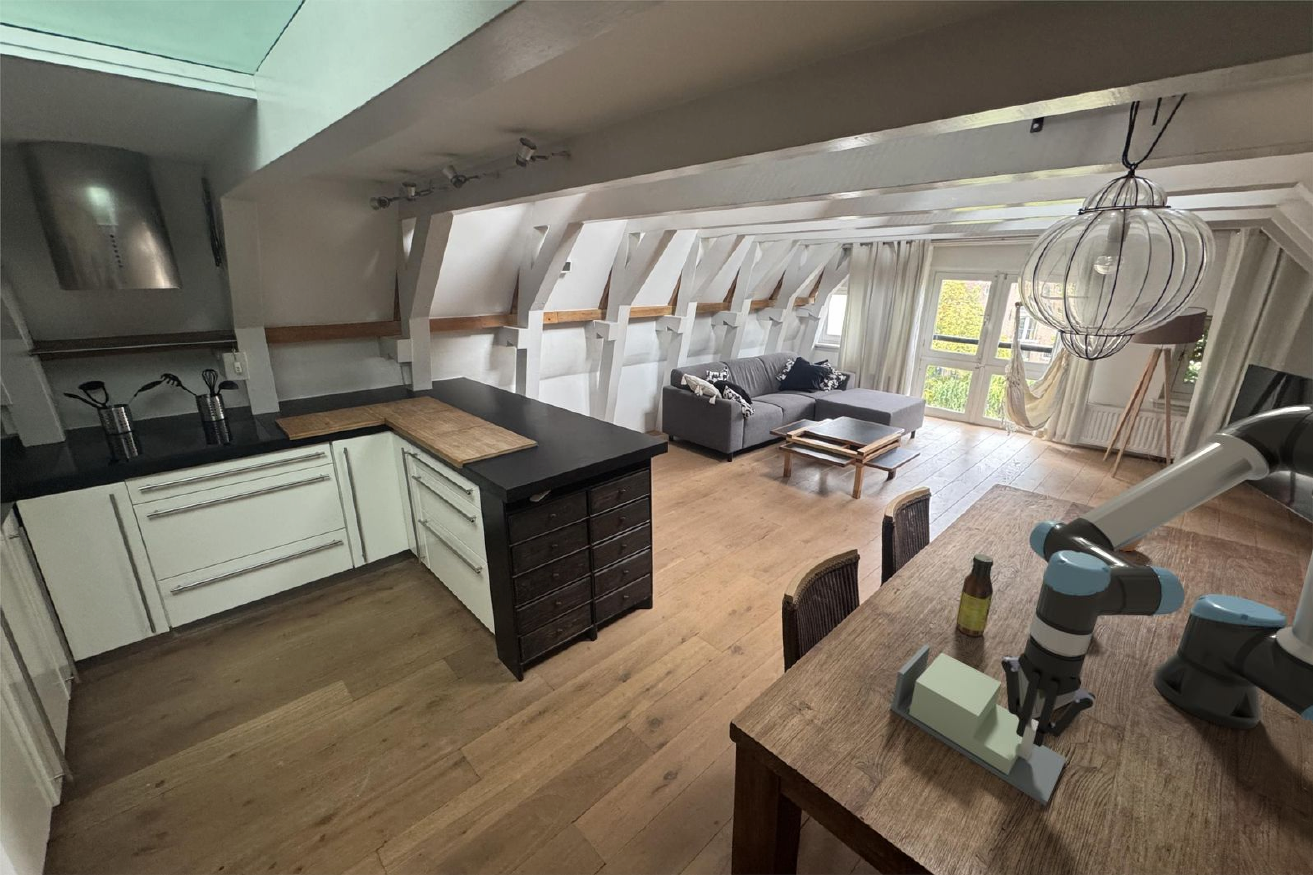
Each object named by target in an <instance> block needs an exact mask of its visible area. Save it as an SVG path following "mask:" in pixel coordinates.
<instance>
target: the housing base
mask: <svg viewBox="0 0 1313 875" xmlns="http://www.w3.org/2000/svg"><path fill="white" fill-rule="evenodd" d="M930 649H931V645H928V644H927V643H925V644H923V645H922V647H921V648H919V650H917V651H916V652H915V654H913V656H912V657H911V658H910V659H909V660H908V661H907V662H906V663H905V664H904V665H903V666H902V667H901V668H900V669H899V670H898V671H897V677H896V683H895V688H894V694H893V699H892V703H891V705H890V710H891V711H893V712H894V713H896V714H898V715H899V716H900V717H903V718H904V719H905V720H907V721H909V722H911V723H912V724H914V725H915V726H917V727H919V728H920V729H921V730H923V731H924V732H926V733H927V734H928V733H929V735H931V736H933V737H935V738H936V739H937V740H939V741H941V742H942V743H944V744H945V745H947V746H948V747H949V748H952V749H953V750H955V751H957V753H960V754H962V756H965V757H966V758H968V759H970V760H971V761H972V762H974V763H976V764H977V765H979V766H981V767H982V768H984V769H986V770H987V771H989V772H990V773H992V774H994V775H996V776H997V778H1000V779H1001V780H1003V781H1004V782H1006V783H1008V784H1010V785H1011V786H1012V787H1014V788H1016V789H1018V790H1019V791H1020V792H1022V793H1024V794H1025V795H1027V796H1028V797H1030V798H1032V799H1033V800H1035V801H1037V802H1038V803H1039V804H1042V805H1043V806H1044V807H1047V806H1048V805H1047V804H1048V802H1049V800H1050V797H1051V795H1052V793H1053V791H1054V788H1055V786H1056V783H1057V782H1058V779H1059V776H1060V774H1061V772H1062V770H1063V768H1064V765H1065V763H1066V760H1067V758H1066V757H1065V756H1063V755H1061V754H1060V753H1058V752H1056V751H1054V750H1052V749H1051V748H1050V747H1047V746H1046V745H1043V744H1042V746H1040V747H1039V746H1037V745H1035V744H1034V747H1033V750H1032V753H1031V755H1030V757H1029V759H1028V760H1026V759H1024V758H1022V757H1021V756H1018V758H1017V759H1016V761H1015V763H1014V765H1013V767H1012V769H1011V770H1010V772H1009V774H1008V775H1007V774H1006V773H1004V772H1002V771H1001V770H999V769H997V768H996V767H994V766H993V765H991V764H989V763H988V762H986V761H984V760H983V759H981V758H980V757H978V756H976V755H975V754H973V753H972V752H970V751H968V750H967V749H965V748H963V747H962V746H960V745H959V744H957V743H955V742H954V741H952V740H950V739H949V738H947V737H946V736H944V735H942V734H941V733H939V732H937V731H936V730H934V729H933V728H931V727H929V726H928V725H926V724H925V723H923V722H921V721H920V720H918V719H916V718H915V717H913V716H912V715H910V714H909V713H910V708H911V703H912V698H913V693H914V688H915V683H916V680H917V679H918V678H919V677H920V676H921V675H922V674H923V673H924V671H925V670H926V669H927V665H928V659H929V654H930Z"/></svg>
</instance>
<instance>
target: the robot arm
mask: <svg viewBox="0 0 1313 875" xmlns="http://www.w3.org/2000/svg"><path fill="white" fill-rule="evenodd" d="M1279 472H1292V473H1296V474H1298V475H1301V476H1304V477H1308V478H1311V479H1313V403H1312V404H1311V403H1309V404H1296V405H1291V406H1290V405H1288V406H1284V407H1279V408H1275V409H1271V410H1267V411H1262V412H1260V413H1256V414H1254V415H1251V416H1247V417H1244V418H1241V419H1240V420H1237V421H1234V422H1232V423H1230V424H1228V425H1226V426H1224V427H1222V428H1220V429H1218V430H1217V431H1215V432H1213V433H1211V434H1210V435H1208V436H1206V438H1205V439H1204V442H1203V446H1201V447H1200V448H1198V449H1196V450H1194V451H1193V452H1191V453H1190V454H1187V455H1186V456H1184V457H1182V458H1180V459H1179V460H1177V461H1175V462H1173V463H1172V464H1170V465H1168V466H1167V467H1165V468H1163V469H1161V470H1159V471H1158V472H1156V473H1155V474H1152V475H1151V476H1149V477H1147V478H1146V479H1145V478H1144V480H1143V479H1142V480H1143V481H1142V480H1141V481H1140V482H1138V483H1137V484H1134V485H1133V486H1131V487H1128V488H1129V489H1126V490H1125V491H1123V492H1121V493H1119V494H1117V495H1116V496H1114V497H1112V498H1110V499H1108V500H1107V501H1105V502H1103V503H1101V504H1100V505H1098V506H1096V507H1094V508H1093V509H1091V510H1089V511H1088V512H1086V513H1084V514H1082V515H1081V516H1078V517H1077V518H1076V519H1073V520H1072V521H1070V522H1068V523H1064V522H1061V521H1059V520H1055V519H1051V520H1044V521H1042V522H1040V523H1038V524H1037V525H1036V526H1035V527H1034V528H1033V529H1032V531H1031V533H1030V535H1029V539H1028V541H1029V546H1030V549H1031V550H1032V551H1033V552H1034V553H1035V554H1036V555H1037V556H1039V557H1040V558H1041V559H1043V560H1044V561H1045V562H1046V564H1047V566H1046V568H1045V570H1044V572H1043V578H1042V582H1041V586H1040V590H1039V596H1038V599H1037V603H1036V607H1035V610H1034V614H1033V618H1032V621H1031V625H1030V629H1029V633H1028V636H1027V639H1026V644H1025V648H1024V651H1023V653H1021V654H1020V655H1019V657H1014V656H1012V655H1010V654H1006V655H1005V656H1004V657H1003V659H1002V660H1001V663H1000V664H1001V666H1002V668H1003V671H1004V673H1005V682H1006V697H1007V710H1008V711H1009V712H1010V713H1011V714H1015V715H1016V716H1017V717H1018V718H1019V723H1018V726H1017V730H1016V733H1017V735H1019V736H1020V737H1022V742H1021V745H1020V749H1019V753H1018V755H1019V756H1021V757H1022V758H1024V759H1026V760H1028V759H1029V757H1030V755H1031V753H1032V750H1033V747H1034V744H1035V745H1037V746H1039V747H1040V746H1042V745H1043V744H1044V742H1045V738H1046V737H1047V736H1046V735H1047V734H1050V735H1051V736H1053V737H1054V738H1059V737H1060V736H1061V735H1062V734H1063V733H1064V731H1065V730H1066V729H1067V728H1068V727H1069V725H1070V724H1071V723H1072V722H1073V721H1074V720H1075V719H1076V717H1078V715H1079V714H1080V713H1081V712H1082V711H1084V710H1088V709H1091V708H1092V707H1093V706H1094V703H1095V700H1096V695H1095V694H1094V693H1092V692H1087V690H1085V688H1083V686H1082V679H1081V678H1080V677H1081V676H1080V675H1081V671H1082V668H1083V665H1084V662H1085V658H1086V653H1087V651H1088V649H1089V646H1090V642H1091V639H1092V636H1093V633H1094V630H1095V626H1096V623H1097V621H1098V618H1099V616H1100V617H1101V616H1110V617H1111V616H1143V617H1144V616H1145V617H1154V616H1157V615H1169V614H1173V613H1175V612H1178V611H1179V610H1180V609H1181V608H1182V606H1183V604H1184V601H1185V598H1186V597H1185V596H1186V594H1185V589H1184V586H1183V583H1181V582H1182V581H1181V580H1179V578H1178V576H1176V575H1175V574H1174V573H1173V572H1172V571H1170V570H1168V569H1166V568H1164V567H1161V566H1156V565H1155V566H1154V565H1148V564H1143V565H1142V564H1141V565H1139V564H1135V563H1133V562H1132V561H1130V560H1128V559H1126V558H1125V557H1123V556H1121V555H1119V554H1117V553H1116V551H1120V550H1119V549H1120V548H1122V547H1124V546H1126V545H1128V544H1129V543H1131V542H1133V541H1135V540H1137V539H1139V538H1140V537H1142V536H1144V535H1146V534H1147V535H1148V534H1150V533H1151V532H1153V531H1155V530H1157V529H1158V528H1160V527H1162V526H1164V525H1166V524H1168V523H1170V522H1171V521H1173V520H1175V519H1177V518H1179V517H1180V516H1182V515H1184V514H1186V513H1188V512H1189V511H1192V510H1193V509H1195V508H1197V507H1199V506H1200V505H1202V504H1204V503H1206V502H1207V501H1209V500H1211V499H1213V498H1216V497H1217V496H1219V495H1220V494H1223V493H1224V492H1226V491H1228V490H1230V489H1231V488H1233V487H1235V486H1237V485H1239V484H1241V483H1242V482H1244V481H1246V480H1250V481H1251V480H1252V481H1259V480H1262V479H1264V478H1266V477H1269V475H1272V474H1275V473H1279ZM1311 498H1312V499H1313V489H1312V492H1311ZM1303 582H1304V583H1303V585H1302V590H1301V594H1300V597H1299V600H1298V605H1297V608H1296V611H1295V612H1296V613H1295V616H1294V620H1293V623H1292V626H1288V619H1287V617H1286V615H1285V614H1284V613H1283V612H1281V611H1279V610H1277V609H1275V608H1273V607H1271V606H1269V605H1267V604H1263V603H1261V602H1258V601H1254V600H1250V599H1247V598H1243V597H1240V596H1233V595H1225V594H1217V593H1215V594H1214V593H1213V594H1212V593H1210V594H1204V595H1202V596H1199V597H1198V598H1197V599H1196V600H1195V603H1194V605H1193V606H1192V609H1190V611H1189V616H1188V618H1187V620H1186V624H1185V626H1184V629H1183V633H1182V635H1181V638H1180V641H1179V645H1178V647H1177V649H1176V650H1175V651H1176V652H1175V653H1173V654H1172V655H1171V656H1170V657H1169V658H1167V659H1166V660H1165V661H1164V662H1163V663H1162V664H1161V665H1160V666H1158V668H1157V669H1156V671H1155V674H1154V676H1153V683H1154V686H1155V687H1156V689H1157V690H1158V691H1159V692H1160V693H1161V695H1162V696H1164V698H1166V699H1167V700H1169V701H1170V702H1171V703H1173V704H1174V705H1176V706H1177V707H1178V708H1180V709H1182V710H1184V711H1185V712H1187V713H1189V714H1191V715H1193V716H1196V717H1198V718H1199V719H1202V720H1204V721H1206V722H1210V723H1212V724H1216V725H1219V726H1222V727H1225V728H1230V729H1237V730H1250V729H1254V728H1256V726H1257V725H1258V724H1259V721H1260V719H1261V718H1262V707H1261V706H1262V705H1261V698H1260V690H1262V692H1264V693H1266V694H1267V695H1269V696H1271V697H1272V698H1273V699H1275V700H1277V701H1278V702H1280V703H1281V704H1283V705H1284V706H1286V707H1287V708H1289V709H1291V710H1292V711H1293V712H1294V713H1296V714H1298V715H1299V716H1300V717H1301V718H1302V719H1304V720H1306V721H1310V722H1311V723H1313V550H1312V552H1311V556H1310V559H1309V564H1308V567H1307V570H1306V575H1305V578H1304V581H1303ZM1287 626H1288V627H1287ZM1020 667H1021V669H1022V671H1023V673H1024V675H1025V677H1026V679H1027V680H1028V682H1029V684H1028V687H1027V693H1026V696H1025V700H1024V703H1023V707H1021V703H1020V691H1019V676H1018V669H1019V668H1020ZM1039 689H1041V690H1043V691H1045V692H1046V697H1045V702H1044V705H1043V708H1042V712H1041V715H1040V716H1039V718H1038V720H1036V719H1035V718H1030V717H1031V715H1032V714H1033V713H1032V712H1033V708H1034V705H1035V701H1036V698H1037V695H1038V691H1039ZM1259 689H1260V690H1259ZM1073 691H1075V695H1074V699H1075V700H1074V701H1072V702H1070V704H1069V705H1068V707H1066V709H1065V710H1064V711H1063V713H1062V714H1061V715H1060V716H1059V718H1057V720H1056V721H1055V722H1051V720H1052V717H1053V714H1054V711H1055V710H1054V707H1055V704H1056V700H1057V697H1058V696H1061V695H1064V694H1067V693H1070V692H1073Z"/></svg>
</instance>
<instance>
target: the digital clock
mask: <svg viewBox="0 0 1313 875" xmlns="http://www.w3.org/2000/svg"><path fill="white" fill-rule="evenodd" d="M1018 676H1019V691H1020V706H1021V707H1023V703H1024V700H1025V696H1026V693H1027V687H1028V684H1029V682H1028V680H1027V679H1026V677H1025V675H1024V673H1023V671H1022V669H1021V667H1020V668H1019V669H1018ZM1074 695H1075V691H1073V692H1070V693H1067V694H1064V695H1061V696H1058V697H1057V700H1056V704H1055V707H1054V710H1053V711H1055V710H1056V709H1059V708H1061V707H1063V706H1065V705H1067V704H1069V703H1070V704H1071V703H1072V702H1073V701H1074V700H1075V699H1074ZM1045 697H1046V692H1045V691H1043V690H1041V689H1039V691H1038V695H1037V698H1036V701H1035V705H1034V708H1033V712H1032V713H1033V714H1032V715H1031V717H1030V718H1032V719H1035V718H1040V715H1041V712H1042V708H1043V705H1044V702H1045Z"/></svg>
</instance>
